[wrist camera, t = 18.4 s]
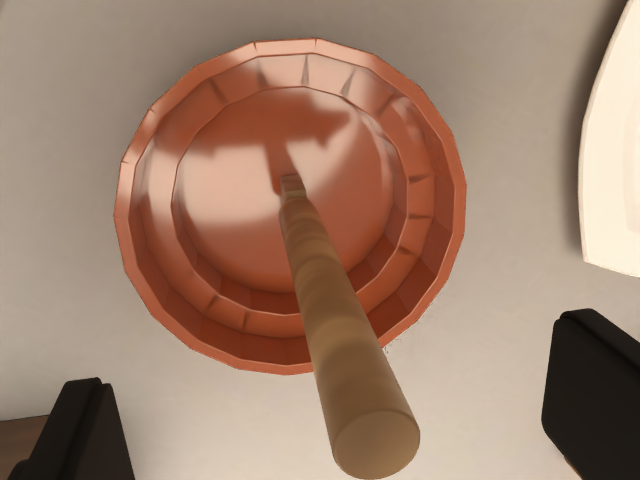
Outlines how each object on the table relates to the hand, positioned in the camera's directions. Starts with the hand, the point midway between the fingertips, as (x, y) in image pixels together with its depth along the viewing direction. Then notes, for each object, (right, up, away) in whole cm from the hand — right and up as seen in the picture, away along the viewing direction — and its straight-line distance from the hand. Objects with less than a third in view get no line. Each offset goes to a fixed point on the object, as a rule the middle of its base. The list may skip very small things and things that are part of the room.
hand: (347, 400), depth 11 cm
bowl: (-2, +6, +17) cm, 18 cm away
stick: (-2, +6, +16) cm, 17 cm away
